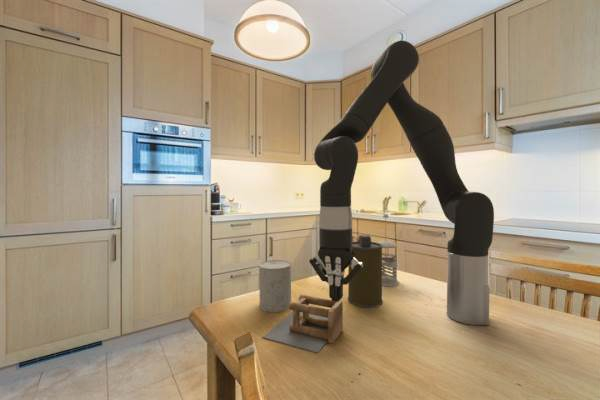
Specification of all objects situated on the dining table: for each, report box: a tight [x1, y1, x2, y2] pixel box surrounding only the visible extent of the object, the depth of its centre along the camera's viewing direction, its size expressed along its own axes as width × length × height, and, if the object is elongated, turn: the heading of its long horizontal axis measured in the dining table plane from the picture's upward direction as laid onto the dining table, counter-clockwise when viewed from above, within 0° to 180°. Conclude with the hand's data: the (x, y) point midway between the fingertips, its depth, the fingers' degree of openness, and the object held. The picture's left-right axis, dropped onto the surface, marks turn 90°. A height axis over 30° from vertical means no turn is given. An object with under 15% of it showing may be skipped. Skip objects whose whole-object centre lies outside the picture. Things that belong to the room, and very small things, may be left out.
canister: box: [347, 234, 384, 308], centre depth 85 cm, size 11×10×20 cm
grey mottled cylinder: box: [258, 259, 292, 313], centre depth 82 cm, size 10×10×12 cm
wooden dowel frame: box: [288, 294, 344, 344], centre depth 67 cm, size 7×7×11 cm
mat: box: [262, 311, 328, 354], centre depth 68 cm, size 14×16×1 cm
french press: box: [376, 213, 400, 287], centre depth 102 cm, size 10×12×25 cm
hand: (335, 300), depth 64 cm, fingers closed
